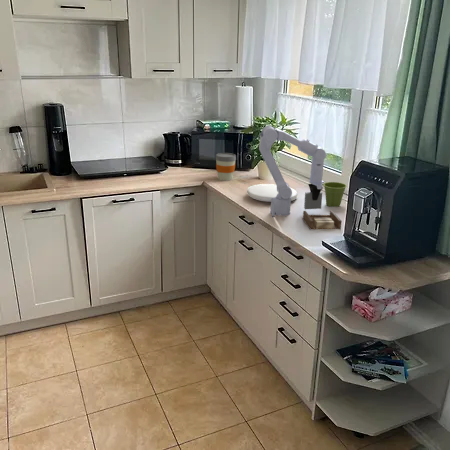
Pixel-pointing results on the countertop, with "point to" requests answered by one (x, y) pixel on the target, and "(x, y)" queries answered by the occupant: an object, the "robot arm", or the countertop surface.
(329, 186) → the plant pot
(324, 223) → the birch offcut
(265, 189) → the plate
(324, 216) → the walnut rack
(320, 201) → the gray block
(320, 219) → the birch offcut
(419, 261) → the countertop surface
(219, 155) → the reusable coffee cup
